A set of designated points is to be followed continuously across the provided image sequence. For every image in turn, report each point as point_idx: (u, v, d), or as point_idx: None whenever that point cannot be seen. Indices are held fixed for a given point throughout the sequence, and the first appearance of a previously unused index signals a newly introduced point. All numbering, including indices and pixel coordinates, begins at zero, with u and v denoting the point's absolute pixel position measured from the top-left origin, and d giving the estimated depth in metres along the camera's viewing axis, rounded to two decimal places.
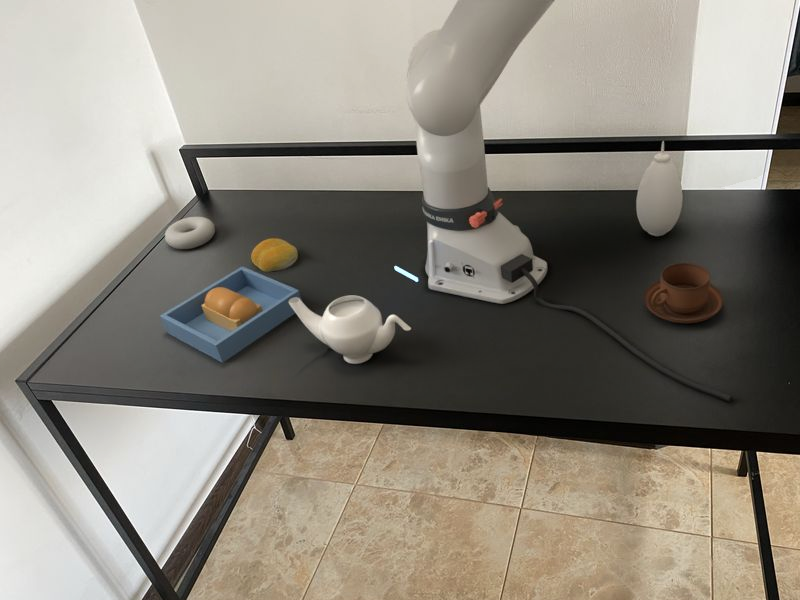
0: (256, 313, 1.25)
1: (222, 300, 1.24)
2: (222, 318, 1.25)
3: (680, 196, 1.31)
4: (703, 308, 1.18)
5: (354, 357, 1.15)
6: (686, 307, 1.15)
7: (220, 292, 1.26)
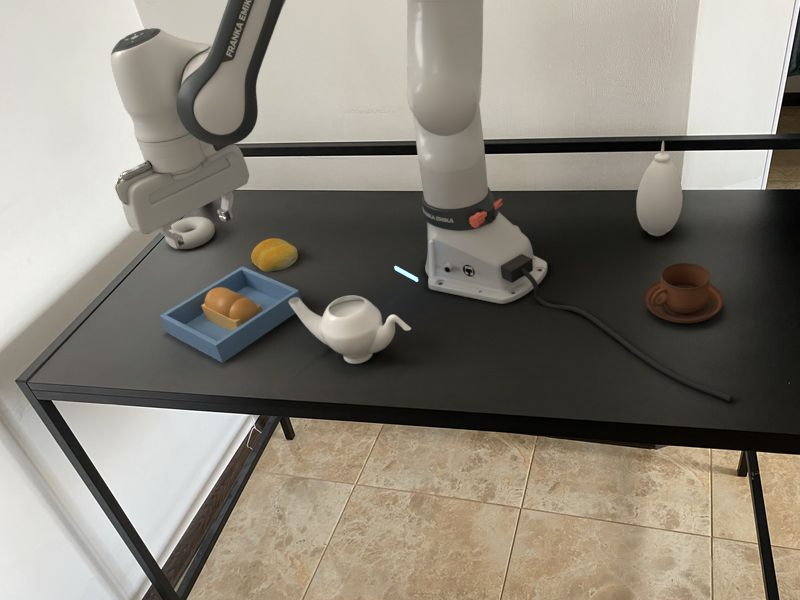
0: (256, 313, 1.25)
1: (222, 300, 1.24)
2: (222, 318, 1.25)
3: (680, 196, 1.31)
4: (703, 308, 1.18)
5: (354, 357, 1.15)
6: (686, 307, 1.15)
7: (220, 292, 1.26)
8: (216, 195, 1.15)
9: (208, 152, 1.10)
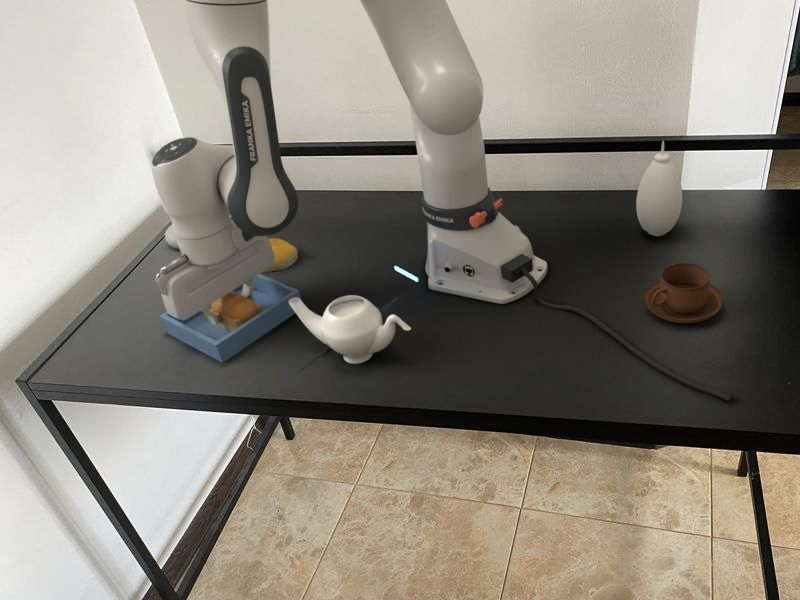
0: (256, 313, 1.25)
1: (222, 301, 1.24)
2: (222, 318, 1.25)
3: (680, 196, 1.31)
4: (703, 308, 1.18)
5: (354, 357, 1.15)
6: (686, 307, 1.15)
7: None
8: (245, 279, 1.25)
9: (239, 244, 1.19)
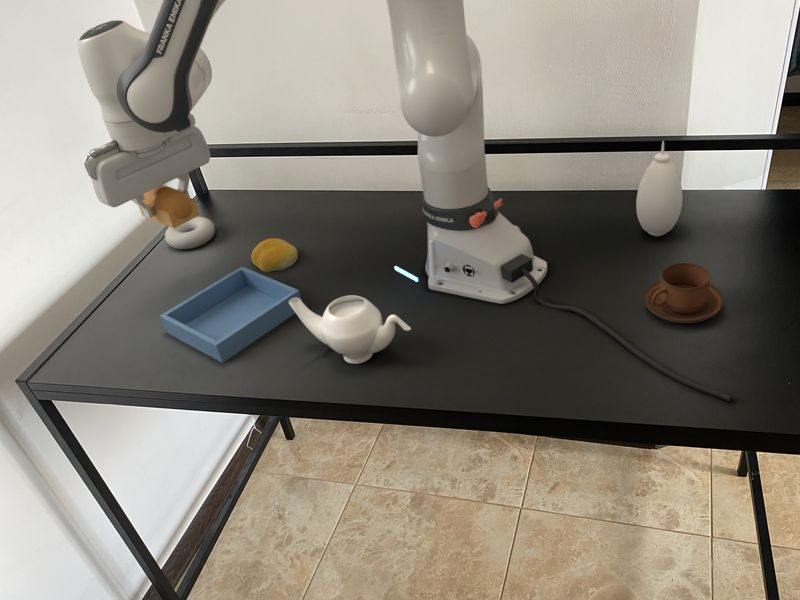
0: (190, 206, 1.26)
1: (155, 193, 1.26)
2: (156, 211, 1.26)
3: (680, 196, 1.31)
4: (703, 308, 1.18)
5: (354, 357, 1.15)
6: (686, 307, 1.15)
7: None
8: (179, 173, 1.26)
9: (170, 132, 1.21)
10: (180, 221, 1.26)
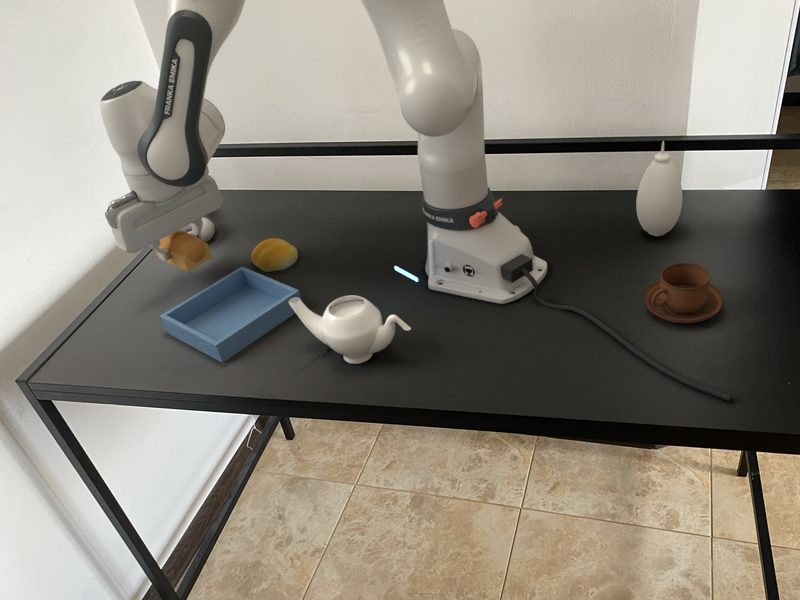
0: (203, 250, 1.33)
1: (171, 238, 1.33)
2: (171, 255, 1.33)
3: (680, 196, 1.31)
4: (703, 308, 1.18)
5: (354, 357, 1.15)
6: (686, 307, 1.15)
7: None
8: (193, 218, 1.34)
9: None
10: (194, 264, 1.33)
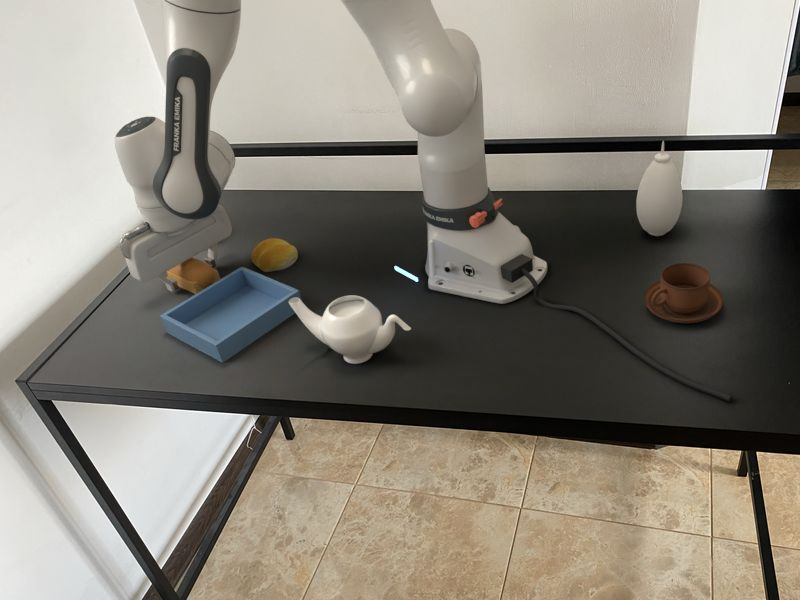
0: (213, 277, 1.37)
1: (181, 265, 1.36)
2: (182, 281, 1.37)
3: (680, 196, 1.31)
4: (703, 308, 1.18)
5: (354, 357, 1.15)
6: (686, 307, 1.15)
7: None
8: (204, 247, 1.37)
9: None
10: None
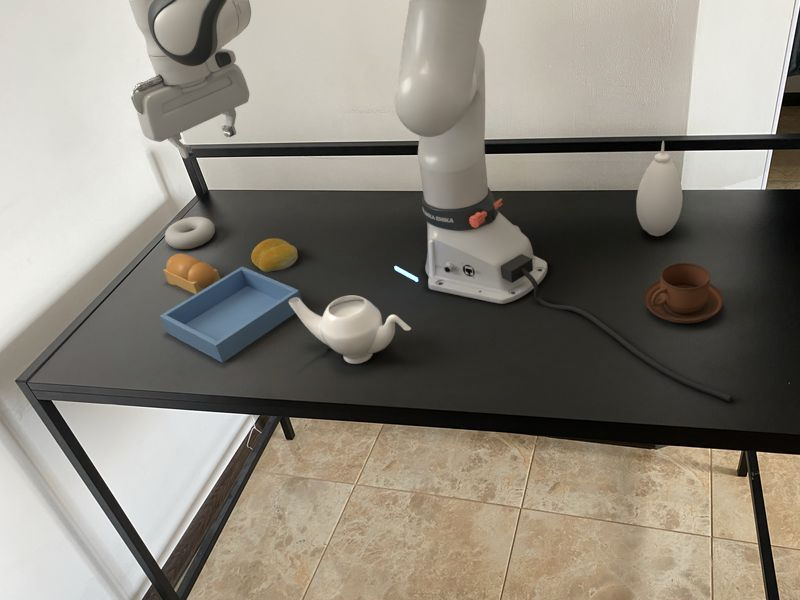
0: (213, 277, 1.37)
1: (181, 265, 1.36)
2: (181, 281, 1.37)
3: (680, 196, 1.31)
4: (703, 308, 1.18)
5: (354, 357, 1.15)
6: (686, 307, 1.15)
7: (180, 257, 1.38)
8: (220, 110, 1.29)
9: (212, 68, 1.23)
10: None
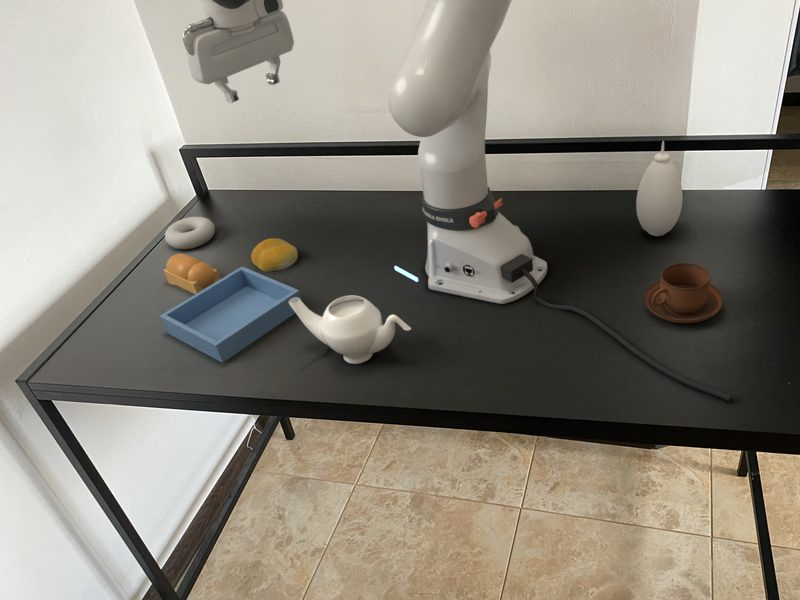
0: (213, 277, 1.37)
1: (181, 265, 1.36)
2: (181, 281, 1.37)
3: (680, 196, 1.31)
4: (703, 308, 1.18)
5: (354, 357, 1.15)
6: (686, 307, 1.15)
7: (180, 257, 1.38)
8: (266, 57, 1.31)
9: (261, 13, 1.25)
10: None
